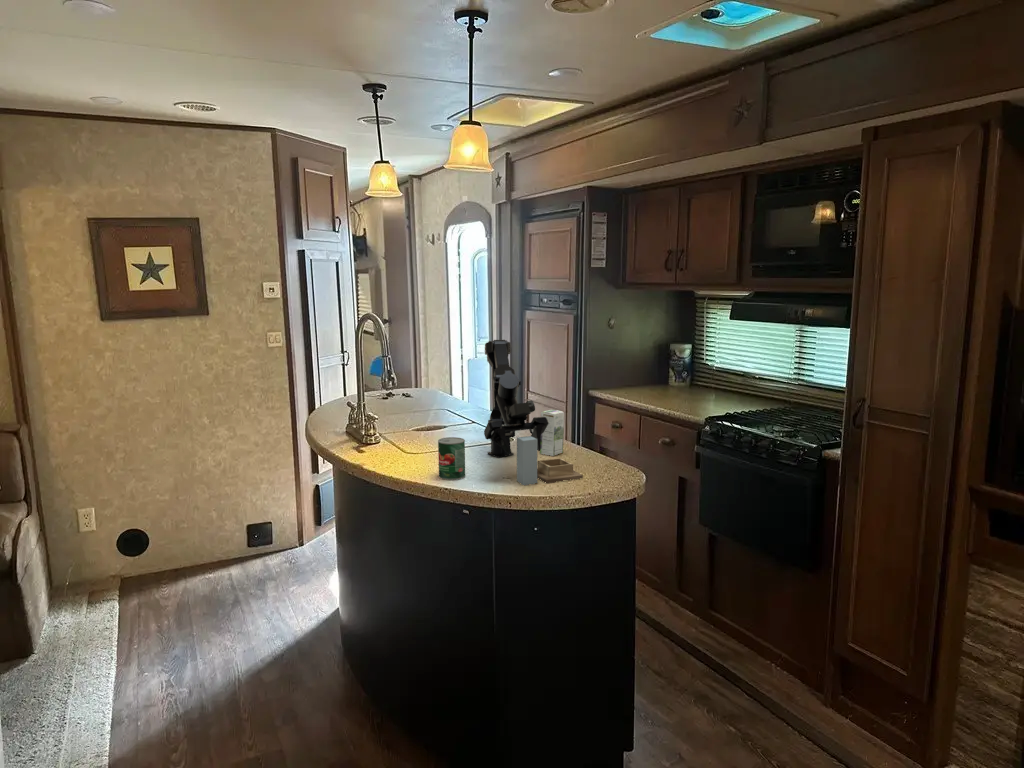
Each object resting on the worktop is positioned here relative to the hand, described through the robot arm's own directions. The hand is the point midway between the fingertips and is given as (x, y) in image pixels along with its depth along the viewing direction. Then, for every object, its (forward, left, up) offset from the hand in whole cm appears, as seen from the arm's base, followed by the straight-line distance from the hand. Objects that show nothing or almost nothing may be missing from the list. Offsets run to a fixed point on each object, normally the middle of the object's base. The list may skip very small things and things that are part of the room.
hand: (525, 452), depth 196 cm
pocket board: (+1, +11, -9) cm, 14 cm away
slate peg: (+1, 0, -9) cm, 9 cm away
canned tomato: (-18, -13, -9) cm, 24 cm away
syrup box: (-19, +28, -9) cm, 35 cm away
